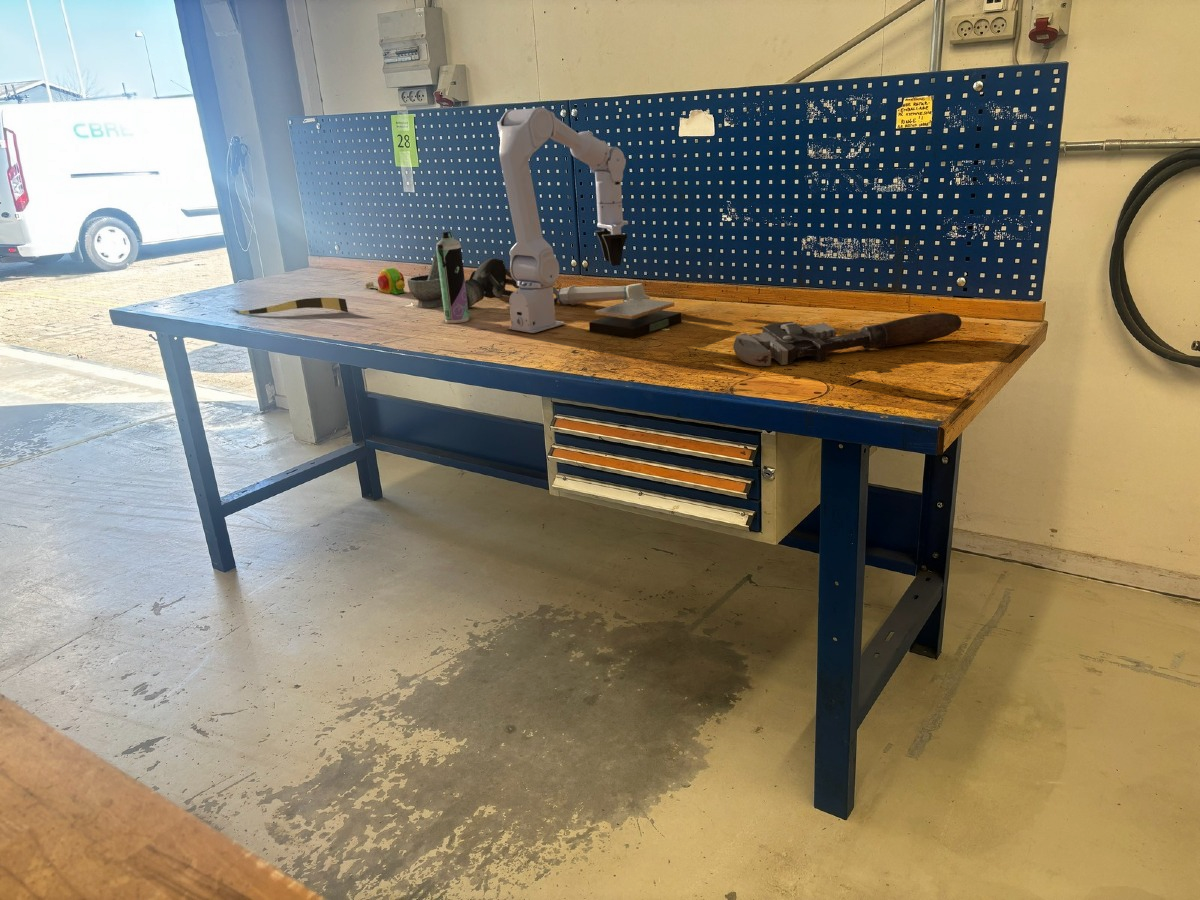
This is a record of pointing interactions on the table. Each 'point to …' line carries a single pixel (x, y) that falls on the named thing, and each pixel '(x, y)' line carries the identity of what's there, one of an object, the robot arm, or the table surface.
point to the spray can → (452, 279)
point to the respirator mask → (490, 282)
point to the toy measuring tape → (389, 281)
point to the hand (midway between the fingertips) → (612, 263)
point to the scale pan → (634, 308)
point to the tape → (303, 305)
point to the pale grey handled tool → (600, 294)
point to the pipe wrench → (837, 338)
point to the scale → (635, 324)
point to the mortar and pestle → (427, 287)
